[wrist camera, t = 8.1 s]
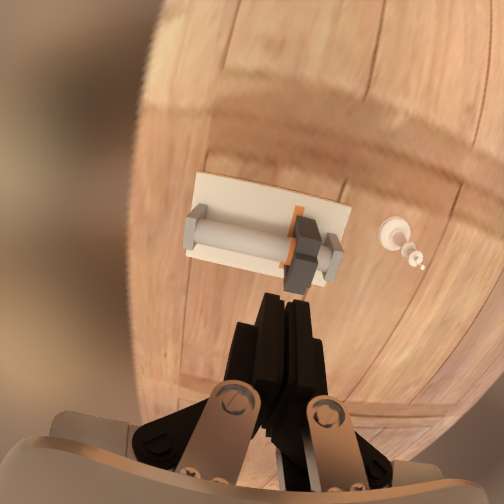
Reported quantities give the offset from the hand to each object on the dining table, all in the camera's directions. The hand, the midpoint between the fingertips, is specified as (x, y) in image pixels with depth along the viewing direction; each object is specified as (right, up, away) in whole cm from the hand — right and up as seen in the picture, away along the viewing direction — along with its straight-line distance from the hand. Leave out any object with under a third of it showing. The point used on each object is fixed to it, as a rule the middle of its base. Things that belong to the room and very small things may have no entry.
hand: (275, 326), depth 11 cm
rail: (+1, +6, +28) cm, 28 cm away
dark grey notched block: (+5, +4, +26) cm, 27 cm away
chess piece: (+19, +6, +26) cm, 33 cm away
